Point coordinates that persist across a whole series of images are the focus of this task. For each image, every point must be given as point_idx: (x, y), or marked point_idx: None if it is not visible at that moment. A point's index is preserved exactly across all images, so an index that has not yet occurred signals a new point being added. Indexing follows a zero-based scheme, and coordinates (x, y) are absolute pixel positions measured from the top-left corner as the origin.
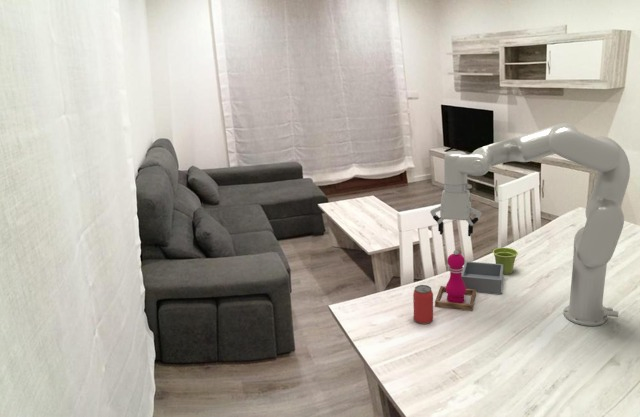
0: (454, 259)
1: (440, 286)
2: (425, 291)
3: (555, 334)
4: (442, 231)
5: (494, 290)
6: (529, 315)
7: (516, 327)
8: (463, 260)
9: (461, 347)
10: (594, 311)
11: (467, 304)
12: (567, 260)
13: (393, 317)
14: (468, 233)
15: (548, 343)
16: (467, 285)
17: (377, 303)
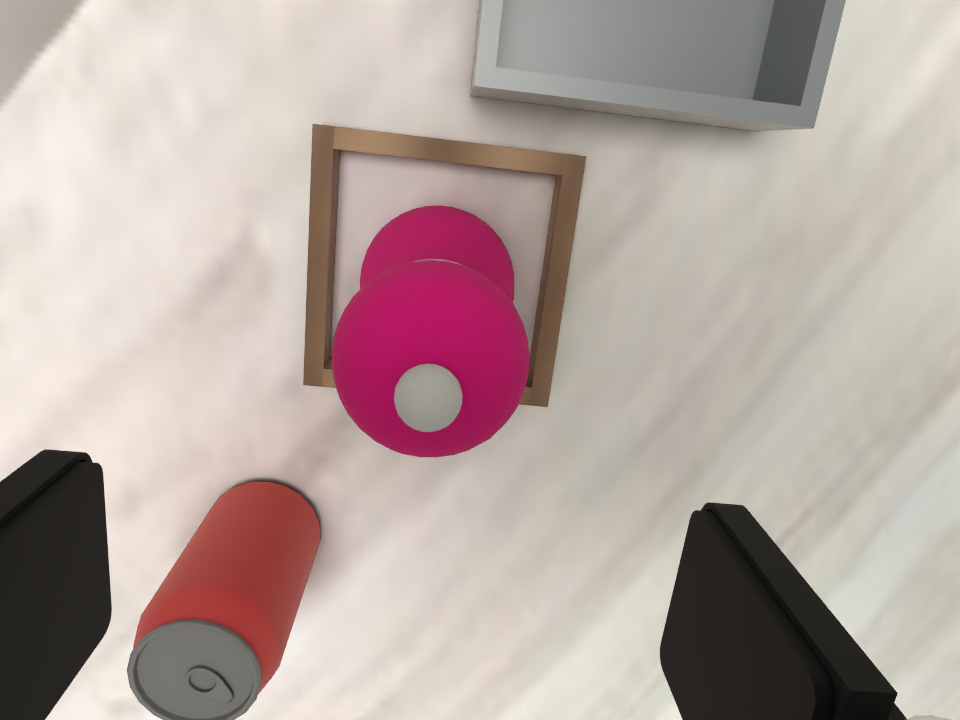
0: (415, 453)
1: (312, 135)
2: (222, 700)
3: (930, 552)
4: (82, 598)
5: (720, 124)
6: (862, 391)
7: (760, 522)
8: (518, 401)
9: (481, 716)
10: None
11: None
12: None
13: None
14: (685, 706)
15: (871, 626)
16: (525, 98)
17: None
